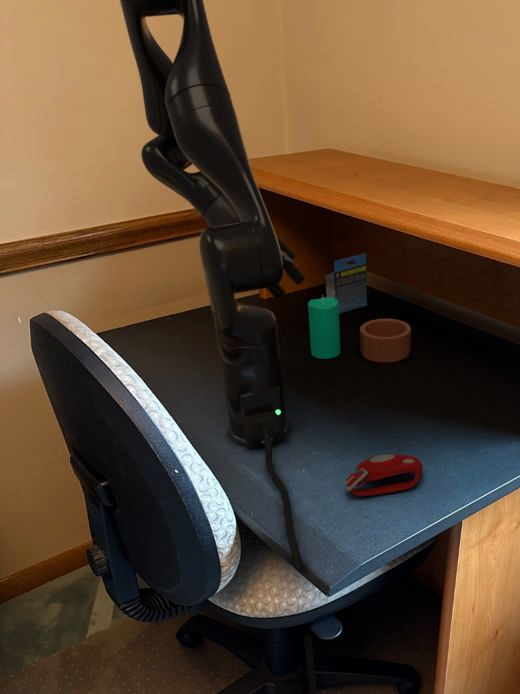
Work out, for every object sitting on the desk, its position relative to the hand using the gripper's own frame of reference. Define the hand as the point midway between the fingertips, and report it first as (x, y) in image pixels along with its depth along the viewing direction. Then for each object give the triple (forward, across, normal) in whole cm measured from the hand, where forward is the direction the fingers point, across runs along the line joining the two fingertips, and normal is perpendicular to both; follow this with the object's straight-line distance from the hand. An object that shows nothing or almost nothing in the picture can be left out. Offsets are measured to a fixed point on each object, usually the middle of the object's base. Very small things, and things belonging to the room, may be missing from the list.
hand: (292, 289), depth 130 cm
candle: (+14, 0, +4) cm, 14 cm away
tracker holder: (+31, -38, -14) cm, 51 cm away
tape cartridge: (+10, +23, +8) cm, 27 cm away
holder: (+21, +4, -4) cm, 22 cm away
